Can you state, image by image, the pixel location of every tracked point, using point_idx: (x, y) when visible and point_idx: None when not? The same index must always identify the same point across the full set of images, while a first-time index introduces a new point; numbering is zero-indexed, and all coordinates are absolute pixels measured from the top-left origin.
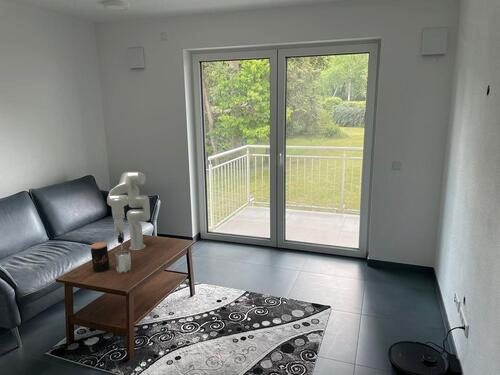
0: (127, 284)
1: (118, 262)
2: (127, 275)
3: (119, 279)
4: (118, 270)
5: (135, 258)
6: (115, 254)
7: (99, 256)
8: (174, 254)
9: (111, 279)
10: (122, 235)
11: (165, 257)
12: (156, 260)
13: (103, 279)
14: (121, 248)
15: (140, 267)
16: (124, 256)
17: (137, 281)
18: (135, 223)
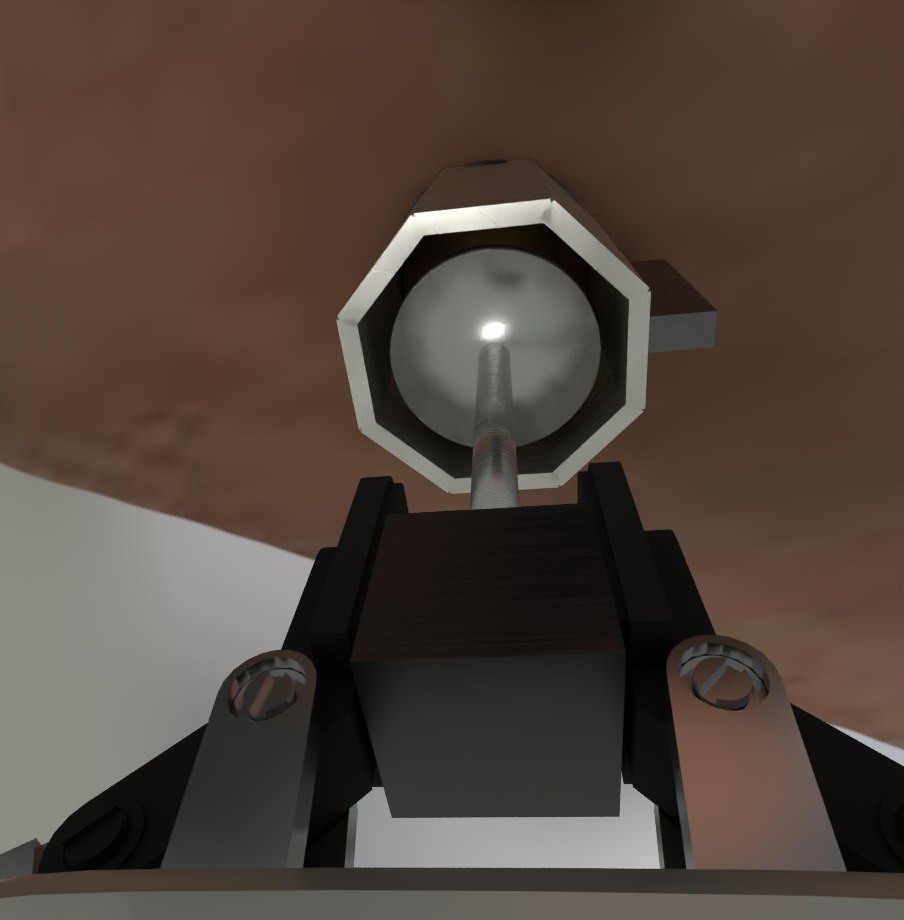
0: (85, 421)
1: (372, 266)
2: (309, 363)
3: (189, 293)
4: (408, 214)
5: (894, 332)
6: (448, 214)
7: None
8: (826, 720)
9: (173, 175)
10: (493, 801)
11: (771, 658)
12: (712, 590)
13: (154, 31)
14: (477, 414)
15: None
16: (366, 427)
17: (171, 503)
18: None
